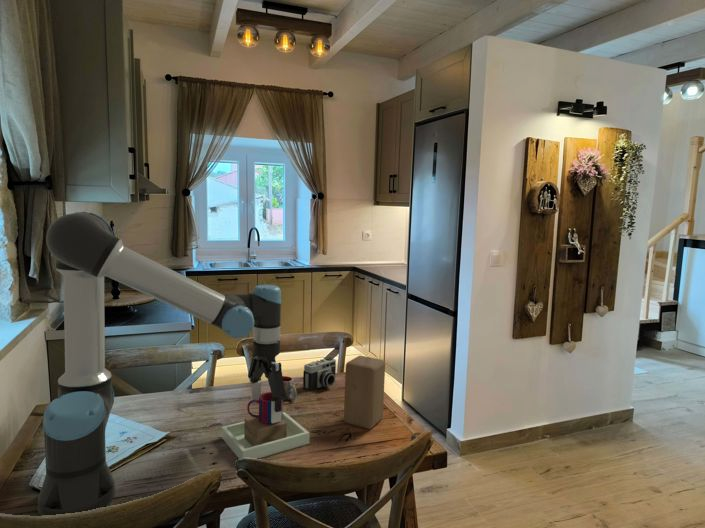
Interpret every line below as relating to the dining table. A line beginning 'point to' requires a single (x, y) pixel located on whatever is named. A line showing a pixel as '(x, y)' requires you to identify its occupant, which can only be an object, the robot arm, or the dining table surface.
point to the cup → (264, 408)
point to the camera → (319, 374)
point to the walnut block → (263, 431)
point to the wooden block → (364, 391)
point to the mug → (289, 388)
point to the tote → (244, 449)
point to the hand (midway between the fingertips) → (265, 412)
